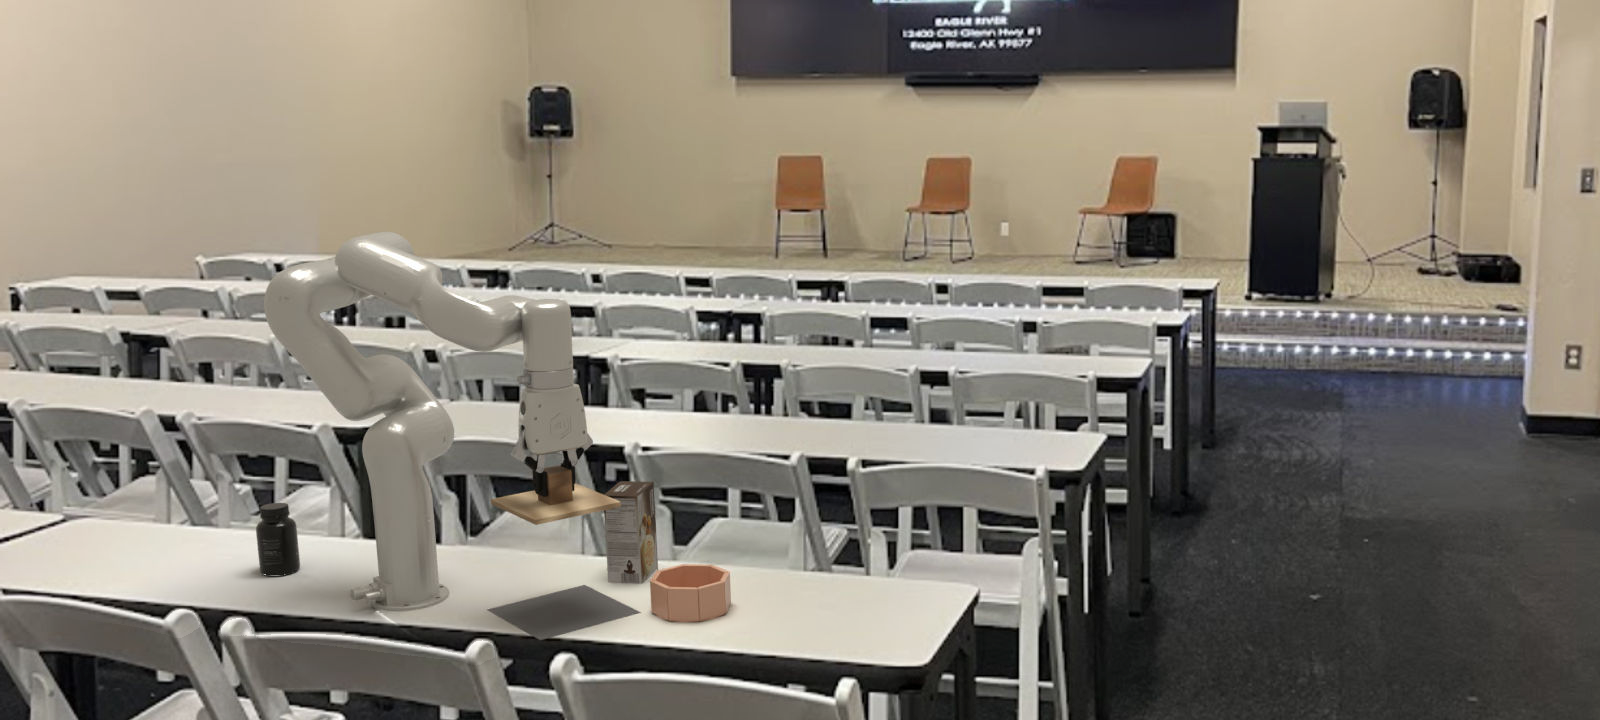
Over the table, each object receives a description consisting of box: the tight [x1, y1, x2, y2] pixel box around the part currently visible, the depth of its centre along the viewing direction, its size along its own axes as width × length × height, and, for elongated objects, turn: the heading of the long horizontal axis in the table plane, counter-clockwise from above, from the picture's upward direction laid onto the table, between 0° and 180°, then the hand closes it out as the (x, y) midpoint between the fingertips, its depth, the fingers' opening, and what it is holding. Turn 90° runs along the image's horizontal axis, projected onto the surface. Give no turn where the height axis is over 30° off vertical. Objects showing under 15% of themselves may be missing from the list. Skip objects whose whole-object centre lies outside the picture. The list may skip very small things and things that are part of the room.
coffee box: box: [603, 480, 659, 585], centre depth 261 cm, size 9×6×16 cm
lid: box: [490, 464, 621, 526], centre depth 242 cm, size 15×15×6 cm
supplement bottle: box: [255, 502, 301, 576], centre depth 271 cm, size 7×7×12 cm
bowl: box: [649, 563, 732, 623], centre depth 245 cm, size 12×12×6 cm
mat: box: [486, 584, 642, 641], centre depth 246 cm, size 18×18×1 cm
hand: (554, 491), depth 242 cm, fingers closed on lid, 4 cm apart
